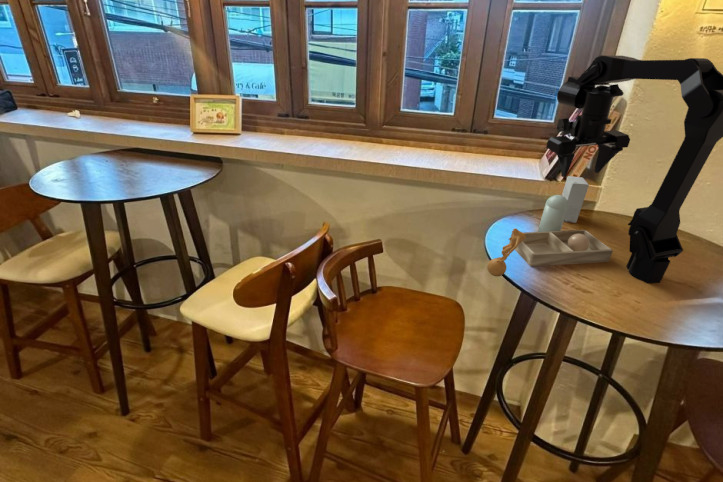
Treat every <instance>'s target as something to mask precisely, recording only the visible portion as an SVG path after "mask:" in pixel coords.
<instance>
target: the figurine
mask: <svg viewBox="0 0 723 482" xmlns="http://www.w3.org/2000/svg"><path fill="white" fill-rule="evenodd" d="M512 233H513V236H512V237H511V236H510V237H509V238H508V240H509V241H510V239H511V243H509V242H508V243H507V244H506V245H504V246H503V247H502V250H501V255H502V256H498V257H497V258H496V257H495V258H492V259H490V260H489V261H488V263H487V265H486V267H487V271H488V273H489V275H491V276H493V277H501V276H503V275H504V274H506V271H507V264H506V262H505V261H506V260H507V259H508V258H509V256H510V254H512V253H513V252H514V251H515V249H516V248H517V247H518V245H519V244H520V243H521V242H522V241H524V239H525V238H526V235H525V233H524V232H523V231H520V230H518V228H513V229H512V230H511V234H512Z"/></svg>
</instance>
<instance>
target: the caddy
mask: <svg viewBox="0 0 723 482" xmlns="http://www.w3.org/2000/svg"><path fill="white" fill-rule="evenodd" d="M523 233H525V235H526V238H525V239H524V241H522V242H521V243H520V244H519V245H518V247H517V248H516V249H515V250H514V251H515V252H516V253H517V254H518V255H519V256H520V257H521V258H522V260H524V262H525V263H526V264H527V265H528V266H529V267H541V266H545V267H546V266H560V265H563V266H564V265H574V264H575V265H578V264H579V265H580V264H593V263H609V262H610V259H611V257H612V254H613V252H614V250H613V249H612V248H611V247H609V246H608V245H606V244H605V243H603V242H602V241H601V240H599V238H597V237H596V236H594V235H593V234H592V233H590V232H589V231H587V230H586V229H571V230H561V231H546V232H538V231H529V232H527V231H526V232H523ZM574 234H583V235H585V236H586V237H587V238H588V239H589V247H588V249H587V250H586V251H573V250H571V249H570V248H569V247H568V239H569V238H570V237H571V236H572V235H574ZM512 236H513V233H512V232H511V235H510V238H511V237H512ZM509 243H511V239H510V240H509V242H508V244H509Z"/></svg>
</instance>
